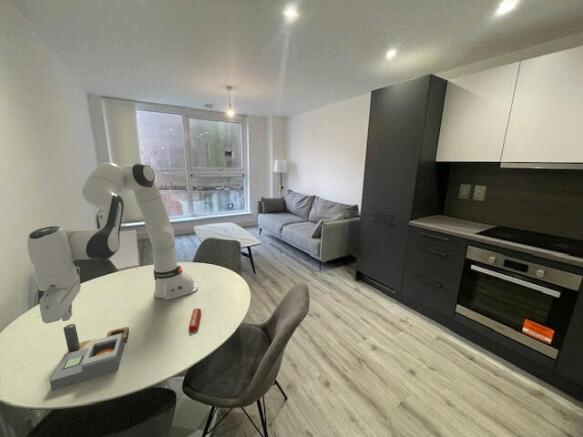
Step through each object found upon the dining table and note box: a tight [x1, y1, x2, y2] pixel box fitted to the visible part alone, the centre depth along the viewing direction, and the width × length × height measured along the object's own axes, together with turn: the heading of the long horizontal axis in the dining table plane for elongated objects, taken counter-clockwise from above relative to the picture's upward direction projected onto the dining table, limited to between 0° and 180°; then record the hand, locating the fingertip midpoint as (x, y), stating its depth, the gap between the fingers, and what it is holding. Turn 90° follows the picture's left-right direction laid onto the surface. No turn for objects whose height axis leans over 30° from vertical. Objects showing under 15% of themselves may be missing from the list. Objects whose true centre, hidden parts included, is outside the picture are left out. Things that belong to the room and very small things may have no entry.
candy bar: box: [188, 307, 202, 332], centre depth 106 cm, size 16×4×3 cm, turn 14°
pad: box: [64, 338, 97, 355], centre depth 89 cm, size 8×8×1 cm
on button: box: [64, 357, 82, 369], centre depth 80 cm, size 4×4×3 cm
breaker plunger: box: [96, 348, 114, 356], centre depth 83 cm, size 5×5×3 cm
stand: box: [106, 326, 130, 344], centre depth 95 cm, size 7×7×2 cm
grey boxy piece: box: [49, 333, 125, 391], centre depth 81 cm, size 17×12×6 cm
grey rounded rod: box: [63, 323, 80, 353], centre depth 87 cm, size 3×3×10 cm
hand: (67, 318), depth 76 cm, fingers closed
